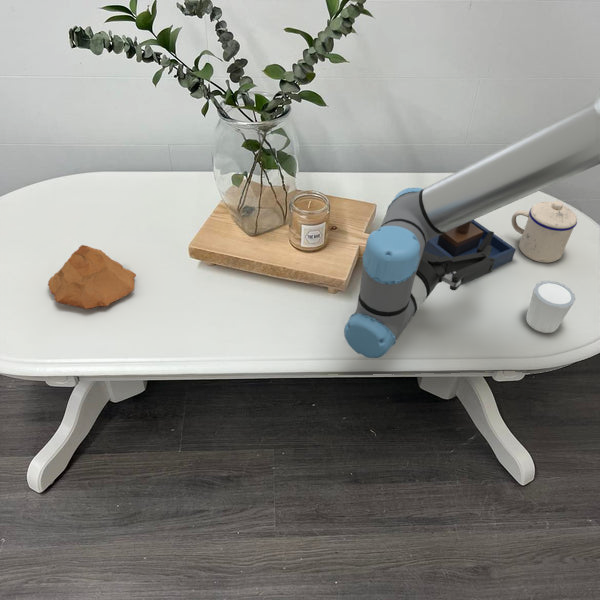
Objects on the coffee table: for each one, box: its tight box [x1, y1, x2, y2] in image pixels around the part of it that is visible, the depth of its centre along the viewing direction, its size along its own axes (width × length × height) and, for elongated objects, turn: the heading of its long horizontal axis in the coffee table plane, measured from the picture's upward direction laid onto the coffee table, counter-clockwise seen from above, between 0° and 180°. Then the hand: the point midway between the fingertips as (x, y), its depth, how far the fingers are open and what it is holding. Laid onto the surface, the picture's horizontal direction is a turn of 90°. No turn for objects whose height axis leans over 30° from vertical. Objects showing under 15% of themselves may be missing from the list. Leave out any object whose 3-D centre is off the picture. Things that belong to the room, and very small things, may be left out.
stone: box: [47, 244, 137, 310], centre depth 106 cm, size 15×15×10 cm
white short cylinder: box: [525, 280, 576, 334], centre depth 101 cm, size 7×7×7 cm
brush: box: [437, 221, 483, 257], centre depth 114 cm, size 5×7×14 cm
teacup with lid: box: [511, 200, 578, 263], centre depth 116 cm, size 12×9×12 cm
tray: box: [424, 219, 517, 274], centre depth 118 cm, size 18×14×3 cm
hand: (455, 225), depth 108 cm, fingers open, 13 cm apart
